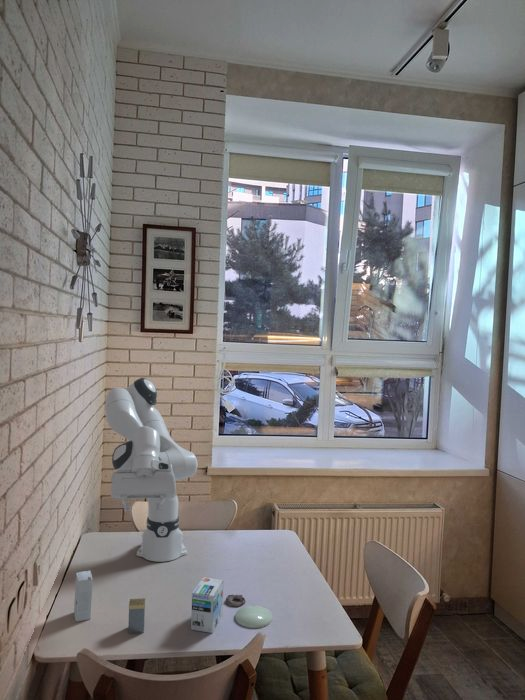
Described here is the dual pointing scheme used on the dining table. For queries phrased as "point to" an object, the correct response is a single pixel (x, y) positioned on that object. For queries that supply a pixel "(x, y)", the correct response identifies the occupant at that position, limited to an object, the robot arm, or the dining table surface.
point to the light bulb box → (207, 605)
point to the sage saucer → (253, 616)
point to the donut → (237, 603)
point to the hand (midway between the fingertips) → (142, 510)
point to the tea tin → (136, 616)
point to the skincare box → (83, 596)
